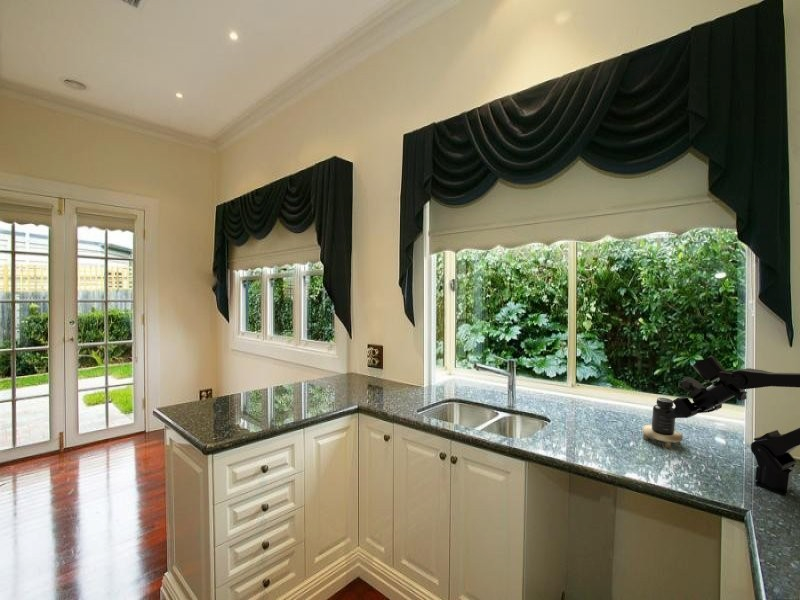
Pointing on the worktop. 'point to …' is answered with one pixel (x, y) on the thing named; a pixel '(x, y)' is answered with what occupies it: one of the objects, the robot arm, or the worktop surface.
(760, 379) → the robot arm
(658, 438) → the stool
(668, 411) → the supplement bottle
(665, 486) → the worktop surface
